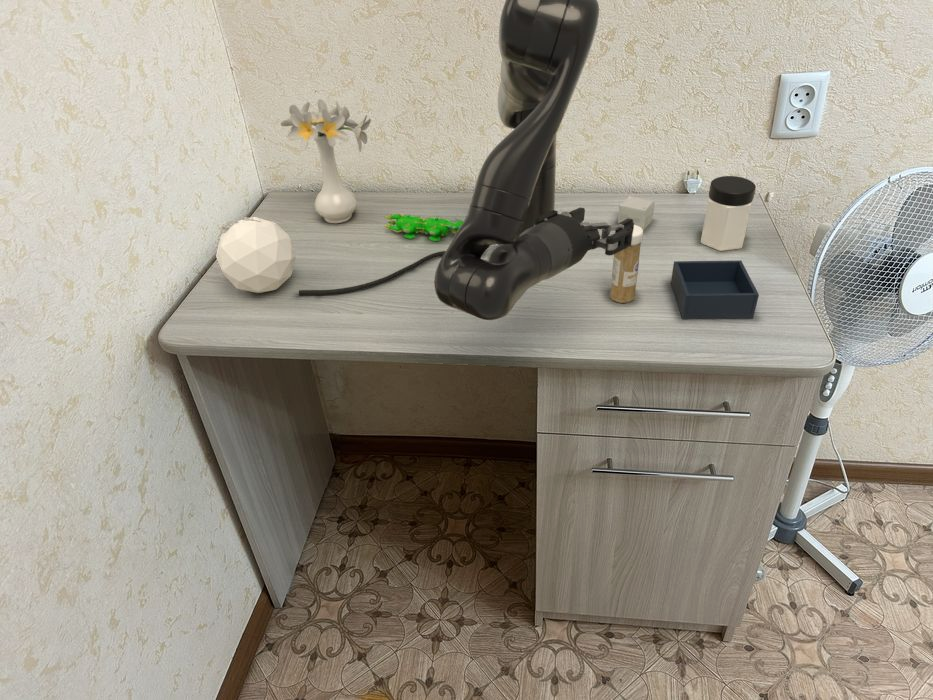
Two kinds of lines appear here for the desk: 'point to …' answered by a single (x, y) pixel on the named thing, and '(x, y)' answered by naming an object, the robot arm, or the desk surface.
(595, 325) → the desk surface
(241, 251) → the geodesic sphere
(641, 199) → the small box
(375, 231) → the desk surface
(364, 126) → the flower vase
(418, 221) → the crocodile figurine
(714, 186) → the jar
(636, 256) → the sprinkles bottle
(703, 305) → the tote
